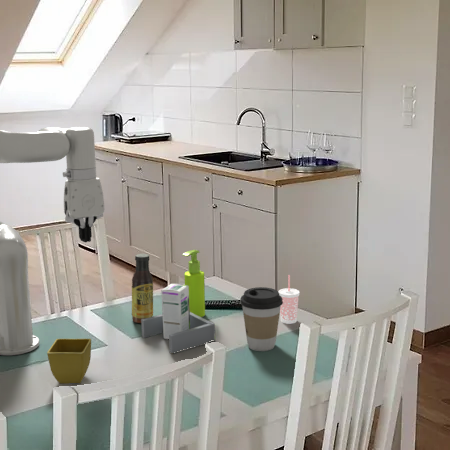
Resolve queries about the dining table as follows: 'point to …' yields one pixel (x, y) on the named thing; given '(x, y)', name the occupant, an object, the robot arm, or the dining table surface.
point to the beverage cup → (289, 304)
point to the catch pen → (185, 339)
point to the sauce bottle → (142, 289)
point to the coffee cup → (261, 317)
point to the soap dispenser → (195, 284)
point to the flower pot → (69, 359)
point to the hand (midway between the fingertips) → (85, 240)
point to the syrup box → (175, 309)
